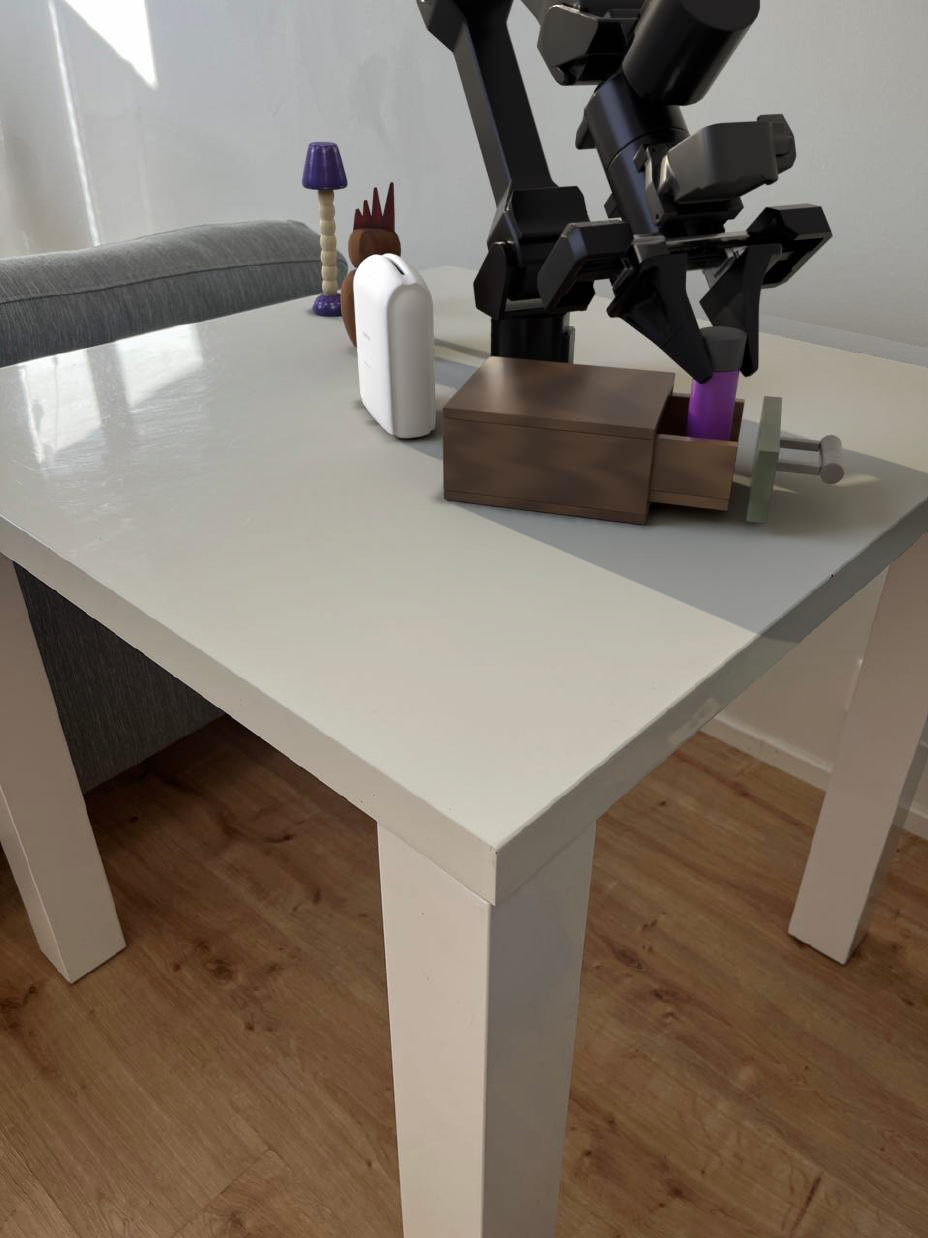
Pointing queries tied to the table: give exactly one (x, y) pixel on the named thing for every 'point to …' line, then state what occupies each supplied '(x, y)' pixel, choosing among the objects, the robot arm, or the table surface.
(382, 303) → the photo printer
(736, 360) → the glue stick
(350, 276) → the wooden figurine
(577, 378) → the cabinet
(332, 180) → the toy lamp
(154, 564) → the table surface
